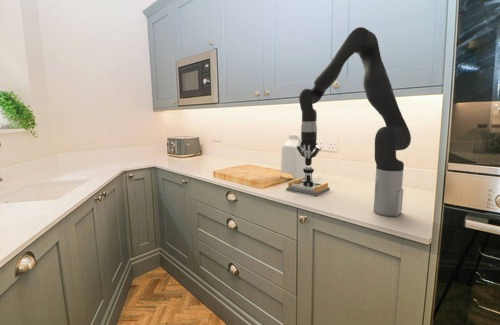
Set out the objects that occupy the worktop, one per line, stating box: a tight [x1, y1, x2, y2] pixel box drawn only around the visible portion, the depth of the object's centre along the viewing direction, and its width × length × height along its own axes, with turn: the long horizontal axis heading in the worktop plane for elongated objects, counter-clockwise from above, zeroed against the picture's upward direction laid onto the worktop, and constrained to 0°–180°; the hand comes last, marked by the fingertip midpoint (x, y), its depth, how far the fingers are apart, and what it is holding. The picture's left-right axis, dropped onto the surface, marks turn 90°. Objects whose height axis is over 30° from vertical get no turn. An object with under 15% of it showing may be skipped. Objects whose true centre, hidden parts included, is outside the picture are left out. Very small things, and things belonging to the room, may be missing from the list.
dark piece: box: [300, 166, 315, 187], centre depth 139 cm, size 7×5×10 cm
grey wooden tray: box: [291, 179, 323, 192], centre depth 139 cm, size 13×10×2 cm
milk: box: [280, 134, 308, 181], centre depth 167 cm, size 12×12×26 cm
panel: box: [285, 178, 331, 197], centre depth 139 cm, size 17×14×4 cm
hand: (308, 165), depth 137 cm, fingers closed
